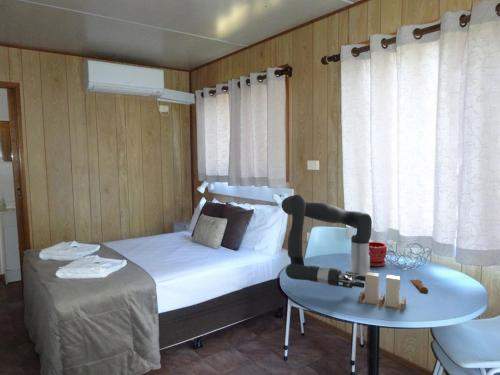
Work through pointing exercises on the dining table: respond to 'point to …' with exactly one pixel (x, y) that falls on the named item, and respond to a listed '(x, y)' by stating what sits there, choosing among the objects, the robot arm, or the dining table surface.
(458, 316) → the dining table surface
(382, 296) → the rack
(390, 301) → the tall square post
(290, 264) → the robot arm
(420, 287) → the primitive tool
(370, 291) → the beige rectangular block
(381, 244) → the plant pot
